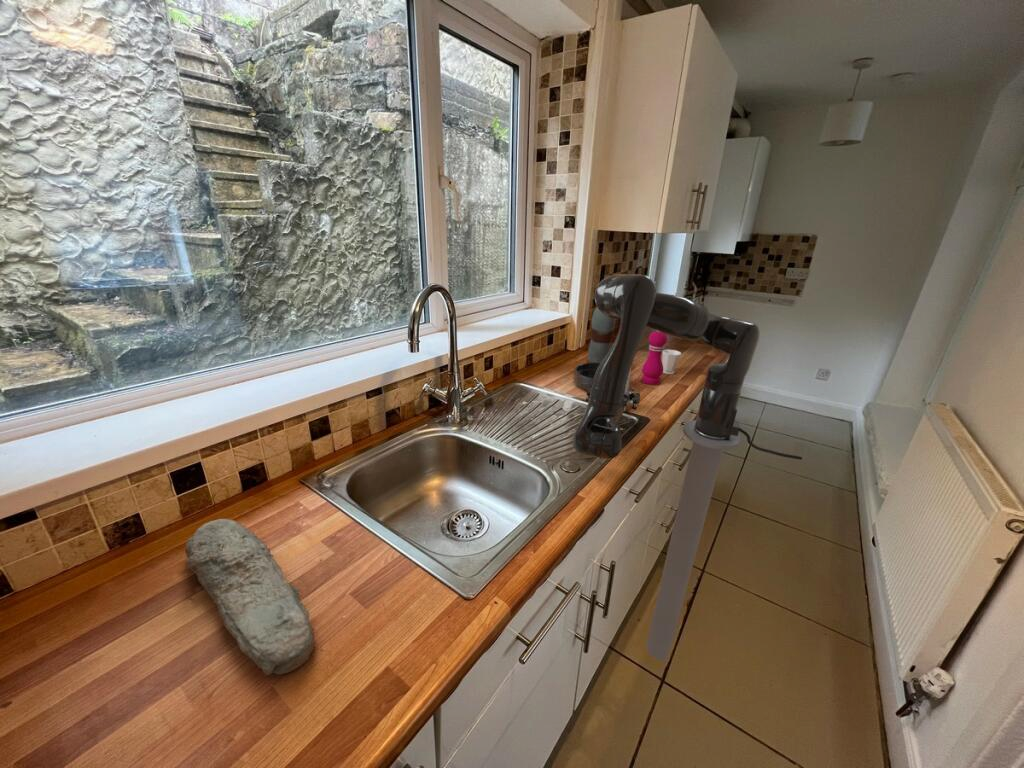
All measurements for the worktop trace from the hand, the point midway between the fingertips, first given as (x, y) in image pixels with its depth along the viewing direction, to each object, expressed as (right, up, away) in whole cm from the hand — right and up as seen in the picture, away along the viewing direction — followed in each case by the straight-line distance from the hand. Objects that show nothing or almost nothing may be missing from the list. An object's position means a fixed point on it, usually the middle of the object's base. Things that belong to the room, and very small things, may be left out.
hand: (615, 387), depth 118 cm
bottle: (+5, +10, +47) cm, 48 cm away
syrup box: (+1, -6, +7) cm, 10 cm away
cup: (+31, +6, +39) cm, 50 cm away
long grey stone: (-70, -31, -56) cm, 95 cm away
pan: (0, +1, +24) cm, 24 cm away
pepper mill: (+20, +2, +28) cm, 34 cm away
